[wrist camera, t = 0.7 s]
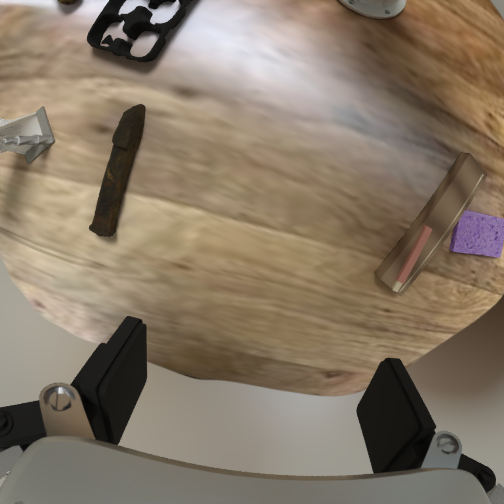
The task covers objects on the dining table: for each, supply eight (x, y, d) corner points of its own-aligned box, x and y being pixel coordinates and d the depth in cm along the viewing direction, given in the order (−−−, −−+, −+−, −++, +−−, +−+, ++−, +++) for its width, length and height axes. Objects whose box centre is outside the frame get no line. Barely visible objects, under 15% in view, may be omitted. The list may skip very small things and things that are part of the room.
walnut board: (460, 152, 37) (470, 153, 34) (477, 173, 38) (487, 175, 35) (374, 272, 43) (380, 279, 41) (394, 289, 44) (401, 296, 42)
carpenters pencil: (424, 224, 38) (426, 225, 38) (430, 228, 38) (432, 229, 38) (390, 288, 41) (392, 289, 41) (396, 290, 41) (398, 292, 41)
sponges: (494, 254, 42) (500, 258, 40) (446, 249, 42) (452, 252, 40) (502, 217, 40) (508, 219, 38) (455, 207, 40) (461, 209, 38)
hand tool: (118, 234, 43) (104, 242, 38) (97, 224, 42) (82, 231, 38) (162, 112, 37) (151, 107, 33) (138, 104, 37) (125, 99, 33)
